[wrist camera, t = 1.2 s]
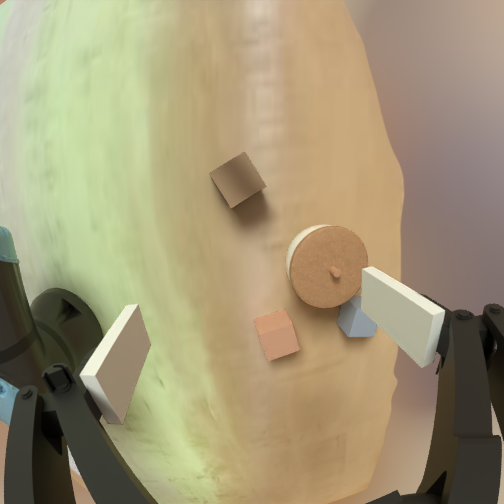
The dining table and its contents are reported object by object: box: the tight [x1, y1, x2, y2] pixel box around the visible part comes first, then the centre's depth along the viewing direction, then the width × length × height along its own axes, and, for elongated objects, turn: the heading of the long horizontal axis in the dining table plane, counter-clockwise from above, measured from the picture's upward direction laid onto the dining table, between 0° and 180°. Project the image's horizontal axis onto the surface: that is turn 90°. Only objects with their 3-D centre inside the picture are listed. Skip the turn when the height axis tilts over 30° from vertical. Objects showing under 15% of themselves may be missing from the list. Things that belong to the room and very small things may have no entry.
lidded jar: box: [285, 225, 368, 308], centre depth 36 cm, size 11×11×9 cm
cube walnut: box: [209, 152, 267, 208], centre depth 34 cm, size 5×5×5 cm
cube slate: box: [337, 297, 377, 337], centre depth 41 cm, size 5×5×5 cm
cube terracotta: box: [254, 309, 299, 361], centre depth 40 cm, size 5×5×5 cm
